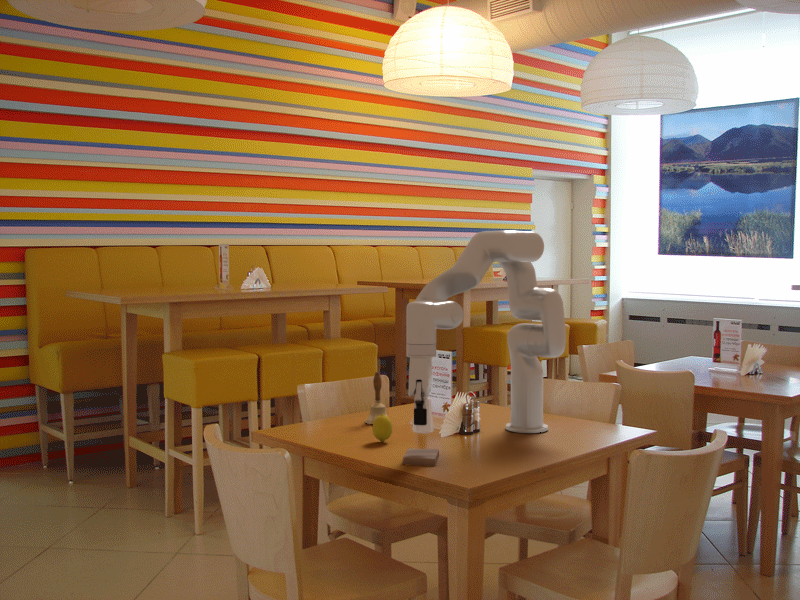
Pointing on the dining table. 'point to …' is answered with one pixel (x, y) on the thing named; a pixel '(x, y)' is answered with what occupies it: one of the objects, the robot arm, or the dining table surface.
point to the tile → (421, 456)
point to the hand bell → (376, 401)
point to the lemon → (382, 427)
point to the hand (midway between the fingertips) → (421, 422)
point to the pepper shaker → (429, 426)
